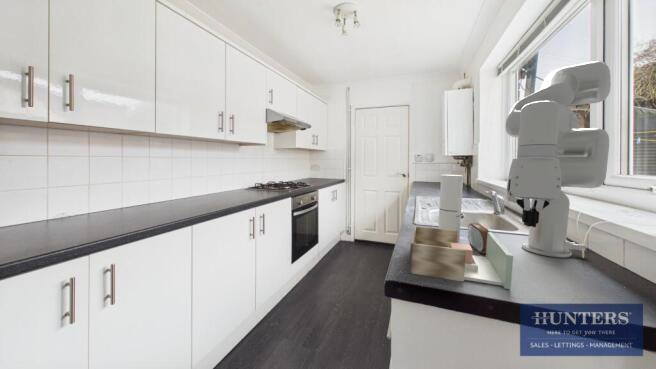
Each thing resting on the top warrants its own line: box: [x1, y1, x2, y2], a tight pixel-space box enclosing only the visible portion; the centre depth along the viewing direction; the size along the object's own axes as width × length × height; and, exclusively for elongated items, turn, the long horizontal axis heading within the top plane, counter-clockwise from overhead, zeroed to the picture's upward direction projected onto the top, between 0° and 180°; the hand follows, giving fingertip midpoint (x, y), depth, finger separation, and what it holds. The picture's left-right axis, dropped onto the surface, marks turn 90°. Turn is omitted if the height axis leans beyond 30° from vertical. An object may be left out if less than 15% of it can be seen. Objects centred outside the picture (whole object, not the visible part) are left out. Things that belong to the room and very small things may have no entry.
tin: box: [467, 222, 490, 255], centre depth 86 cm, size 15×3×8 cm, turn 168°
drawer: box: [464, 231, 514, 290], centre depth 70 cm, size 13×21×8 cm, turn 158°
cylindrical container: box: [437, 174, 464, 244], centre depth 92 cm, size 7×7×25 cm
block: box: [450, 242, 473, 264], centre depth 71 cm, size 5×5×5 cm
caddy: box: [409, 226, 466, 282], centre depth 74 cm, size 13×20×8 cm, turn 158°
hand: (529, 225), depth 65 cm, fingers closed
